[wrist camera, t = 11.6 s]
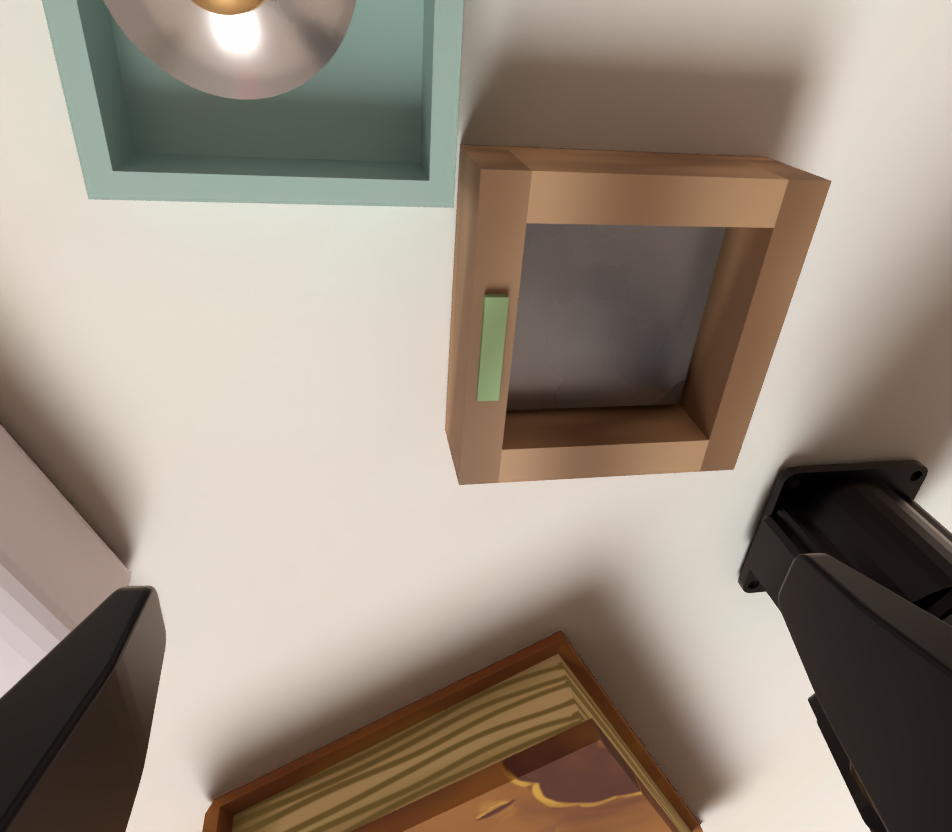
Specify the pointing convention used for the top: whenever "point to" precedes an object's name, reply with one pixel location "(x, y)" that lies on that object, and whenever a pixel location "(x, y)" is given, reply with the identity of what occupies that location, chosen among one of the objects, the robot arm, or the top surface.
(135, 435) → the top surface
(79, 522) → the charger
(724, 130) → the top surface
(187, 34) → the steel cell
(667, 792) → the diary
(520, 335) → the plate
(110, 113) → the trough tray
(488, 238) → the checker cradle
